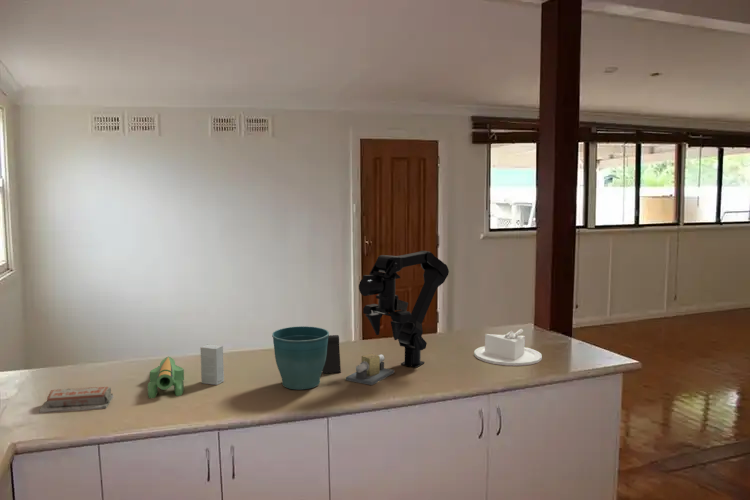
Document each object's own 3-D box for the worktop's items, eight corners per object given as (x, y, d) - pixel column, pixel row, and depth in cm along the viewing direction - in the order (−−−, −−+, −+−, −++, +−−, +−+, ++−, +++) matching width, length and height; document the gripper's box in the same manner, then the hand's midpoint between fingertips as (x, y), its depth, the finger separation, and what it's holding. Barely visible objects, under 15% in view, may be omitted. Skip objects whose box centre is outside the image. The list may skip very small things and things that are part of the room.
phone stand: (340, 372, 210) (340, 338, 209) (323, 373, 209) (323, 339, 208) (336, 365, 219) (336, 332, 218) (320, 366, 218) (319, 333, 216)
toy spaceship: (152, 368, 215) (152, 348, 214) (184, 366, 218) (183, 345, 217) (146, 399, 185) (145, 375, 184) (183, 396, 188) (182, 372, 187)
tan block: (369, 376, 203) (369, 358, 203) (361, 373, 206) (361, 356, 206) (379, 373, 207) (379, 355, 206) (371, 370, 209) (371, 353, 209)
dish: (549, 354, 235) (551, 325, 234) (528, 370, 214) (529, 339, 213) (489, 344, 249) (490, 317, 247) (463, 359, 228) (464, 329, 226)
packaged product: (113, 382, 186) (105, 394, 176) (114, 398, 186) (106, 410, 177) (49, 386, 182) (37, 397, 173) (49, 401, 183) (38, 414, 173)
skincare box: (224, 381, 201) (223, 345, 200) (217, 385, 197) (216, 349, 195) (208, 379, 203) (207, 344, 201) (200, 383, 199) (199, 347, 197)
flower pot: (331, 392, 191) (331, 339, 189) (273, 395, 188) (272, 341, 186) (326, 374, 208) (326, 325, 207) (272, 377, 205) (272, 327, 204)
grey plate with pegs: (369, 368, 215) (369, 351, 215) (394, 372, 210) (394, 355, 210) (345, 380, 203) (345, 362, 202) (372, 385, 198) (372, 366, 197)
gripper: (423, 293, 207) (422, 338, 209) (385, 286, 221) (385, 328, 223) (399, 297, 200) (398, 344, 202) (362, 289, 214) (362, 333, 216)
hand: (386, 337), depth 211 cm, fingers open, 9 cm apart
